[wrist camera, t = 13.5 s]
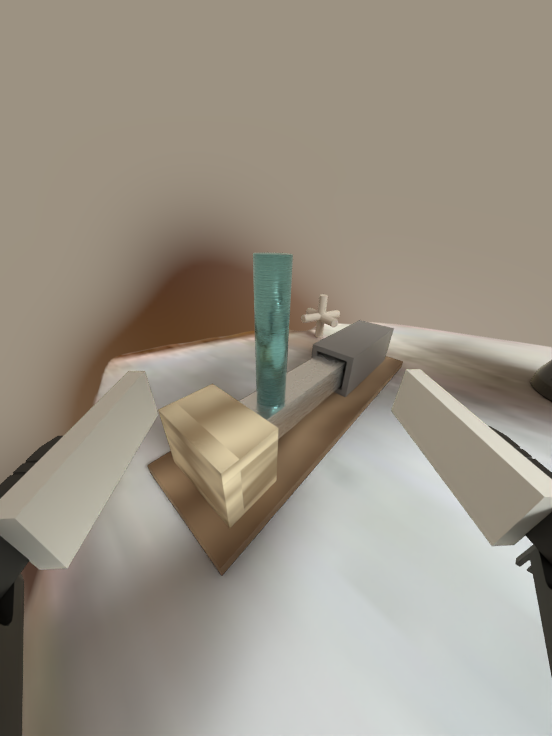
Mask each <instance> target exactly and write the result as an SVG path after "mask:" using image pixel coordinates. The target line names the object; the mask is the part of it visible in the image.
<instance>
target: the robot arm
mask: <svg viewBox="0 0 552 736" xmlns="http://www.w3.org/2000/svg"><path fill="white" fill-rule="evenodd" d="M531 384H532V386H533V387H534V388H535V389H536V390H537V391H538V392H539V393H540V394H542V395H543V396H545V397H546V398H548V399H549V400H551V401H552V360H551V361H549V362H548V363H546V364H545V365H544V366H542V367H541V368H540V369H539V370H538V371H537V372H536V373H535V375H534V376H533V378H532V379H531ZM391 411H392V412H393V414H394V415H395V416H396V418H397V419H398V420H399V422H400V423H401V424H402V426H403V427H404V428H405V430H406V431H407V432H408V434H409V435H410V437H411V438H412V439H413V441H414V442H415V443H416V445H417V446H418V447H419V449H420V450H421V451H422V453H423V454H424V455H425V457H426V458H427V459H428V461H429V462H430V463H431V465H432V466H433V467H434V469H435V470H436V471H437V473H438V474H439V476H440V477H441V478H442V480H443V481H444V482H445V484H446V485H447V486H448V488H449V489H450V490H451V492H452V493H453V494H454V496H455V497H456V498H457V500H458V501H459V502H460V504H461V505H462V506H463V508H464V509H465V510H466V512H467V513H468V515H469V516H470V517H471V519H472V520H473V521H474V523H475V524H476V525H477V527H478V528H479V529H480V531H481V532H482V533H483V535H484V536H485V537H486V539H487V540H488V541H489V543H490V544H491V545H492V546H504V545H515V544H516V543H517V542H518V541H519V540H521V539H522V538H523V537H524V536H525V535H526V536H527V538H528V539H529V540H530V541H531V542H532V543H533V544H534V545H532V546H531V547H530V548H529V549H527V550H526V551H525V552H524V553H522V554H521V555H520V556H518V557H517V558H516V565H518V566H522V565H523V564H524V563H526V562H527V561H528V560H530V561H531V566H530V567H529V568H528V569H527V571H528V572H530V573H532V574H533V578H534V583H535V588H536V594H537V599H538V605H539V610H540V616H541V621H542V627H543V632H544V637H545V643H546V648H547V654H548V659H549V665H550V670H551V676H552V472H550V471H549V470H548V469H547V468H545V467H544V466H543V465H542V464H541V463H539V462H538V461H537V460H536V459H532V456H531V455H529V454H528V453H527V452H526V451H525V450H523V449H520V446H518V445H517V444H516V443H515V442H513V441H512V440H511V439H510V438H509V437H507V436H506V435H504V434H503V433H501V432H499V431H497V430H496V429H494V428H492V427H490V426H487V425H486V424H485V423H484V422H483V421H481V420H480V419H479V418H478V417H477V416H475V415H474V414H473V413H472V412H471V411H469V410H468V409H467V408H466V407H465V406H463V405H462V404H461V403H460V402H459V401H457V400H456V399H455V398H454V397H453V396H451V395H450V394H449V393H448V392H447V391H445V390H444V389H443V388H442V387H441V386H440V385H438V384H437V383H436V382H435V381H434V380H432V379H431V378H430V377H429V376H428V375H426V374H425V373H424V372H423V371H422V370H420V369H406V371H405V374H404V376H403V379H402V382H401V385H400V387H399V390H398V393H397V396H396V398H395V401H394V404H393V407H392V409H391ZM157 416H158V411H157V408H156V405H155V402H154V398H153V395H152V392H151V389H150V386H149V382H148V379H147V376H146V373H145V371H128V372H127V373H126V374H125V375H124V376H123V377H122V378H121V379H120V380H119V381H118V382H117V383H116V384H115V385H114V386H113V387H112V388H111V389H110V390H109V391H108V392H107V393H106V394H105V395H104V396H103V397H102V398H101V399H100V400H99V401H98V402H97V403H96V404H95V405H94V406H93V407H92V408H91V409H90V410H89V411H88V412H87V413H86V414H85V415H84V416H83V417H82V418H81V419H80V420H79V421H78V422H77V423H76V424H75V425H74V426H73V427H72V428H71V429H70V430H69V431H68V432H67V433H66V434H65V435H64V436H57V437H55V438H54V439H52V440H51V441H49V442H47V443H46V444H44V445H43V446H41V447H40V448H39V449H38V450H37V451H35V452H34V453H33V454H32V455H31V456H30V457H29V458H28V459H27V460H26V463H25V464H22V465H21V466H20V467H19V468H17V470H15V471H14V472H13V475H10V476H9V477H8V478H7V479H6V480H5V481H4V482H3V483H1V485H0V736H22V690H23V619H24V580H23V577H22V575H21V574H20V573H21V572H22V570H23V569H24V567H25V566H26V565H27V563H28V562H29V561H30V562H31V563H32V564H33V565H35V566H36V567H37V568H38V569H39V570H49V569H67V568H68V567H69V565H70V563H71V562H72V560H73V558H74V557H75V555H76V553H77V551H78V550H79V548H80V546H81V545H82V543H83V541H84V540H85V538H86V536H87V535H88V533H89V531H90V529H91V528H92V526H93V524H94V523H95V521H96V519H97V518H98V516H99V514H100V512H101V511H102V509H103V507H104V506H105V504H106V502H107V501H108V499H109V497H110V496H111V494H112V492H113V490H114V489H115V487H116V485H117V484H118V482H119V480H120V479H121V477H122V475H123V474H124V472H125V470H126V468H127V467H128V465H129V463H130V462H131V460H132V458H133V457H134V455H135V453H136V452H137V450H138V448H139V446H140V445H141V443H142V441H143V440H144V438H145V436H146V435H147V433H148V431H149V429H150V428H151V426H152V424H153V423H154V421H155V419H156V418H157Z"/></svg>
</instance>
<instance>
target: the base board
mask: <svg viewBox="0 0 552 736" xmlns="http://www.w3.org/2000/svg"><path fill="white" fill-rule="evenodd" d="M402 363H403V361H399V360H396V359H393V358H390V357H387V356H385V360H384V361H383V362H382V363H381V364H380V365H379V366H378V367H377V368H376V369H375V370H374V371H373V372H372V373H370V374H369V375H368V376H367V377H366V378H365V379H364V380H363V381H362V382H361V383H360V384H359V385H358V386H357V387H356V388H355V389H354V390H353V391H352V392H350V393H349V394H348V395H347V396H346V397H344V396H341V395H339V394H337V393H335V392H333V393H332V394H331V395H330V396H328V397H327V398H326V399H325V400H324V401H323V402H321V403H320V404H319V405H318V406H317V407H316V408H314V409H313V410H312V411H311V412H310V413H309V414H307V415H306V416H305V417H304V418H303V419H302V420H300V421H299V422H298V423H297V424H296V425H295V426H293V427H292V428H291V429H290V430H289V431H288V432H286V433H285V434H284V435H283V436H282V437H281V438H279V439H278V453H277V479H276V482H275V483H274V484H273V485H272V486H271V487H270V488H269V489H268V490H267V491H266V492H265V493H264V494H263V495H262V496H261V497H260V498H259V499H258V500H257V501H256V502H255V503H254V504H253V505H252V506H251V507H250V508H249V509H248V510H247V511H246V512H245V513H244V515H243V516H242V517H241V518H240V519H239V520H238V521H237V522H236V523H235V524H234V525H233V526H232V527H231V528H229V527H228V526H227V525H226V523H225V522H224V521H223V520H222V519H221V517H220V516H219V515H218V514H217V513H216V511H215V510H214V509H213V508H212V507H211V505H210V504H209V503H208V502H207V501H206V499H205V498H204V497H203V496H202V494H201V493H200V492H199V491H198V490H197V488H196V487H195V486H194V485H193V484H192V482H191V481H190V480H189V479H188V478H187V476H186V475H185V474H184V473H183V472H182V470H181V469H180V468H179V467H178V466H177V464H176V463H175V462H174V459H173V456H172V453H171V451H170V452H168V453H167V454H165V455H163V456H162V457H160V458H159V459H157V460H155V461H154V462H152V463H150V464H149V465H148V468H149V470H150V473H151V474H152V476H153V477H154V479H155V480H156V482H157V483H158V484H159V486H160V487H161V489H162V490H163V492H164V493H165V495H166V496H167V497H168V499H169V500H170V502H171V503H172V505H173V506H174V508H175V509H176V510H177V512H178V513H179V515H180V516H181V518H182V519H183V521H184V522H185V523H186V525H187V526H188V528H189V529H190V531H191V532H192V534H193V535H194V536H195V538H196V539H197V541H198V542H199V544H200V545H201V547H202V548H203V549H204V551H205V552H206V554H207V555H208V557H209V558H210V560H211V561H212V562H213V564H214V565H215V567H216V568H217V570H218V571H219V573H220V574H221V575H223V574H224V573H225V572H226V571H227V569H228V568H229V567H230V566H231V565H232V564H233V562H234V561H235V560H236V559H237V558H238V557H239V555H240V554H241V553H242V552H243V551H244V550H245V548H246V547H247V546H248V545H249V544H250V543H251V541H252V540H253V539H254V538H255V537H256V536H257V534H258V533H259V532H260V531H261V530H262V529H263V527H264V526H265V525H266V524H267V523H268V522H269V520H270V519H271V518H272V517H273V516H274V515H275V513H276V512H277V511H278V510H279V509H280V508H281V506H282V505H283V504H284V503H285V502H286V501H287V499H288V498H289V497H290V496H291V495H292V494H293V492H294V491H295V490H296V489H297V488H298V487H299V485H300V484H301V483H302V482H303V481H304V480H305V478H306V477H307V476H308V475H309V474H310V473H311V472H312V470H313V469H314V468H315V467H316V466H317V465H318V463H319V462H320V461H321V460H322V459H323V458H324V456H325V455H326V454H327V453H328V452H329V451H330V449H331V448H332V447H333V446H334V445H335V444H336V442H337V441H338V440H339V439H340V438H341V437H342V435H343V434H344V433H345V432H346V431H347V430H348V428H349V427H350V426H351V425H352V424H353V423H354V421H355V420H356V419H357V418H358V417H359V416H360V414H361V413H362V412H363V411H364V410H365V409H366V407H367V406H368V405H369V404H370V403H371V402H372V400H373V399H374V398H375V397H376V396H377V395H378V393H379V392H380V391H381V390H382V389H383V388H384V386H385V385H386V384H387V383H388V382H389V381H390V379H391V378H392V377H393V376H394V375H395V374H396V372H397V371H398V370H399V369H400V368H401V366H402Z"/></svg>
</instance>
